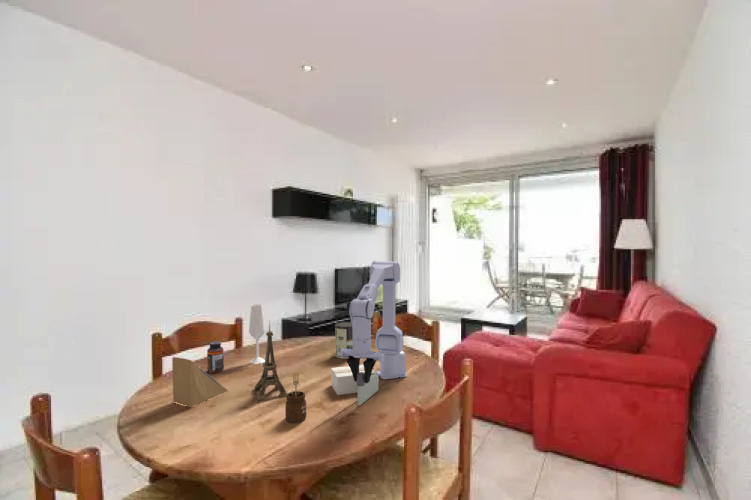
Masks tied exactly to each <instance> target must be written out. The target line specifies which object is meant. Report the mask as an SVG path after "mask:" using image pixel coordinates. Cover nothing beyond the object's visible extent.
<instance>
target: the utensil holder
mask: <svg viewBox="0 0 751 500" xmlns="http://www.w3.org/2000/svg"><path fill="white" fill-rule="evenodd" d="M292 377H293V378H292V379H293V380H292V384H291V391H290V392H287V393H288V394H287V397H286V402H285V406H284V407H285V419H286V420H285V421H287V422H289V423H299V422H302V421H304V420H306V418H307V401H306V394H305V392H304V391H300V390H297V387H298V386H299V380H300V379H299V373H293V374H292ZM293 388H294V391H293Z"/></svg>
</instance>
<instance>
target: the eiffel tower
mask: <svg viewBox="0 0 751 500" xmlns="http://www.w3.org/2000/svg"><path fill="white" fill-rule="evenodd" d="M268 323H269V324H268V326H269V327H268V331H266V333H265V335H266V336H267V340H266V351H265V359H264V360H265V362H264V363H262V367H263V372H262V374H261V375H260V378H259V380H258V382H257V383H256V384H255V386H254V388H253V389H251V393H252V394H257V395H256V397H255V398H254V400H255V403H261V402H265V401H266V400H265V393H266V389H267V388H268V387H269V386H274V388H275V389H276V390H278V392H279V393H278V395H279V397H280V398H281V399H284V398H287V394H288V393H289V392H287V390H286V389H285V386H284V385H283V383H282V382H281V381H280V377H279V375H278V372H277V367H278V365H277V363H276V361H275V355H274V354H275V353H274V346H273V337H272V336H274V332H273V331H271V320H270V319H269V322H268ZM269 371H270V372H271V371H272V374H269Z"/></svg>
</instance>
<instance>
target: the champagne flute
mask: <svg viewBox="0 0 751 500" xmlns="http://www.w3.org/2000/svg"><path fill="white" fill-rule="evenodd" d="M249 317H250V318H249V326H248V333H249V335H250V336H251V337H253V339H255V357H254V358H253V359H251V360H250V361H249V362H251V363H254V364H253V365H259V363H260V364H263V363H265V359H264V358H262V357H260V340H259V339H261V338H262V337H263V336H264V334H266V333H265V332H267V331H266V321H265V313H264V304H261V303H259V304H258V303H257V304H251V306H250V316H249ZM251 363H250V364H251Z"/></svg>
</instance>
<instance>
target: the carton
mask: <svg viewBox="0 0 751 500" xmlns="http://www.w3.org/2000/svg"><path fill="white" fill-rule="evenodd" d="M359 372H364V373H365V371H364V365H363V364H359ZM376 372H377V370H375V368H374V367H373V370H372V373H371V376H372V375H373V374H375V373H376ZM330 379H331V380H330V383H331V384H330V385H331V387H332V389H333V390H334V392H335V394H336V396H341V395H342V396H343V395H347V394H349V395H350V394H355V393H357V394H358V386H357V381H356V382H355V381H354V378H353V374H352V371H351V369H350V367H349V365H348V366H339V367H337V366H336V367H331V368H330Z"/></svg>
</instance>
